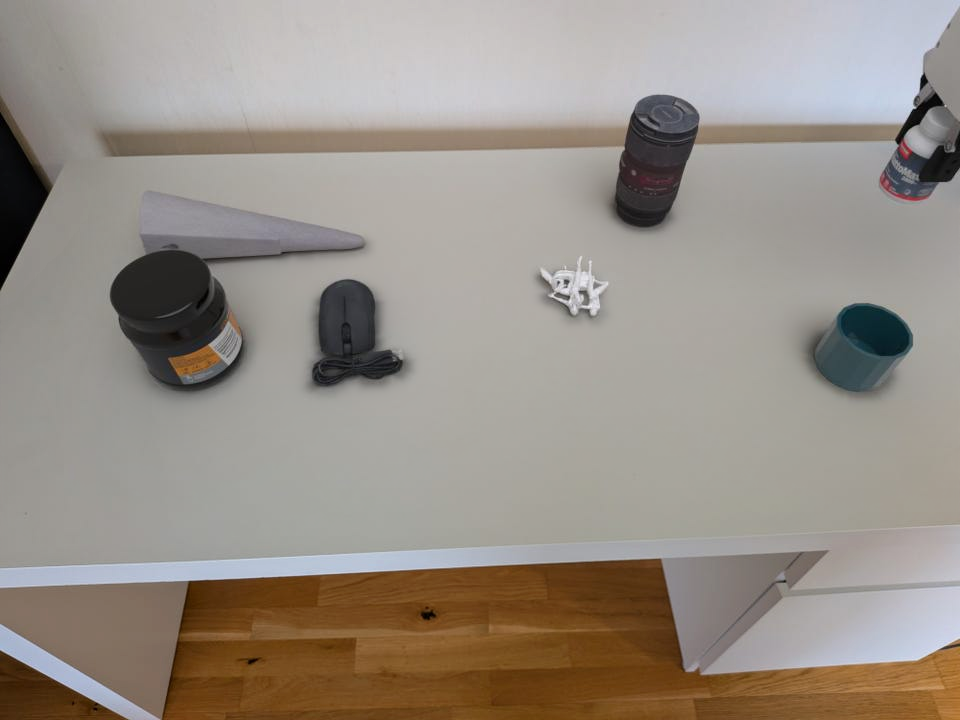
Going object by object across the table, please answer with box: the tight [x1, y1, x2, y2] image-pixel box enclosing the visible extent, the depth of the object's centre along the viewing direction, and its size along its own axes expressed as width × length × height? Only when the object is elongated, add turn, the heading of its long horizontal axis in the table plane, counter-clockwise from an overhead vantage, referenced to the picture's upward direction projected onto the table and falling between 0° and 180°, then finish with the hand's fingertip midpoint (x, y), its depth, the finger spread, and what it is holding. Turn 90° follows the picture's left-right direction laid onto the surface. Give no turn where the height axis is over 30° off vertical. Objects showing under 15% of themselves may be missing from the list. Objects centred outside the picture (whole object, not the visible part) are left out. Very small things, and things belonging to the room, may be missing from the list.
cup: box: [814, 302, 914, 393], centre depth 74 cm, size 8×8×6 cm
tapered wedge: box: [139, 189, 365, 260], centre depth 86 cm, size 8×9×26 cm
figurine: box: [539, 255, 610, 317], centre depth 81 cm, size 3×8×8 cm
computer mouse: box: [311, 278, 405, 387], centre depth 77 cm, size 10×15×4 cm
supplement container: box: [109, 250, 245, 391], centre depth 71 cm, size 10×10×12 cm
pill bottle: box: [877, 105, 955, 205], centre depth 70 cm, size 5×5×9 cm
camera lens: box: [614, 93, 701, 228], centre depth 85 cm, size 8×8×15 cm
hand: (922, 159), depth 70 cm, fingers closed on pill bottle, 5 cm apart
